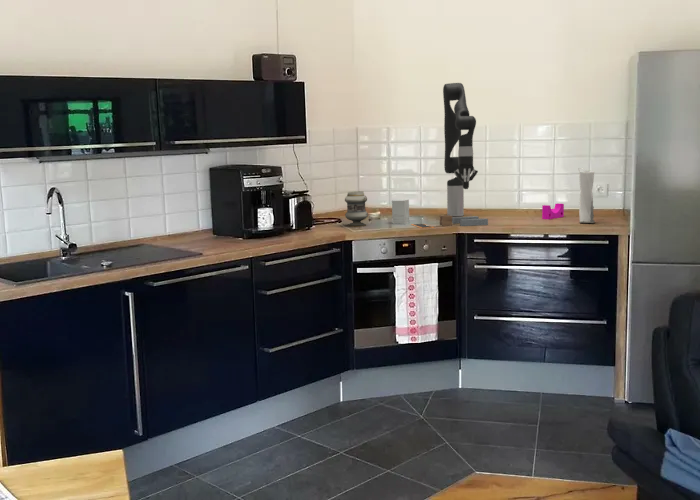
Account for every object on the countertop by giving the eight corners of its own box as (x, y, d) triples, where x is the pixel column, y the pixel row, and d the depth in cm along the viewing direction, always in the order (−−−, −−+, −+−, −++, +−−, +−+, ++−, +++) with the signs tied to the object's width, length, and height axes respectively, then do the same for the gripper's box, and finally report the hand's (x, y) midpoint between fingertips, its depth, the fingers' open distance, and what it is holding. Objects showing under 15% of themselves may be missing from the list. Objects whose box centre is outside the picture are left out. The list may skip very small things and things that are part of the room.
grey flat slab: (451, 223, 423) (451, 217, 423) (476, 221, 426) (476, 216, 425) (462, 226, 407) (462, 220, 407) (487, 224, 410) (487, 219, 410)
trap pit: (411, 224, 419) (411, 224, 419) (423, 224, 421) (423, 223, 421) (421, 228, 402) (421, 227, 402) (434, 227, 403) (434, 227, 403)
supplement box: (409, 222, 429) (409, 199, 427) (404, 224, 423) (404, 200, 421) (397, 222, 432) (396, 199, 431) (391, 223, 426) (391, 200, 424)
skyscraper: (576, 222, 411) (577, 167, 407) (578, 221, 418) (579, 167, 414) (593, 222, 408) (594, 167, 404) (595, 221, 415) (596, 167, 411)
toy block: (553, 216, 445) (554, 203, 444) (563, 217, 441) (563, 203, 440) (538, 218, 435) (538, 205, 434) (548, 219, 431) (548, 205, 430)
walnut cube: (439, 225, 415) (439, 215, 415) (448, 224, 416) (448, 215, 416) (442, 226, 410) (442, 216, 410) (452, 225, 411) (452, 216, 411)
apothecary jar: (341, 225, 424) (340, 191, 421) (362, 224, 428) (361, 190, 426) (350, 227, 413) (350, 192, 410) (372, 226, 417) (371, 191, 415)
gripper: (475, 154, 416) (475, 188, 419) (451, 155, 413) (451, 189, 416) (480, 155, 409) (480, 189, 412) (456, 155, 406) (456, 190, 409)
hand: (465, 189), depth 414 cm, fingers closed
